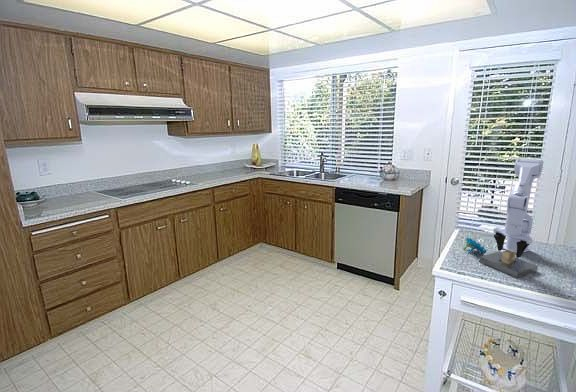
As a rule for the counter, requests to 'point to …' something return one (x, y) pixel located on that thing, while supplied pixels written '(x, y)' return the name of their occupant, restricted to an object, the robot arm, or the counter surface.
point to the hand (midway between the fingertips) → (509, 253)
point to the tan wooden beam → (508, 256)
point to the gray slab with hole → (508, 265)
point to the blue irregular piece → (473, 246)
